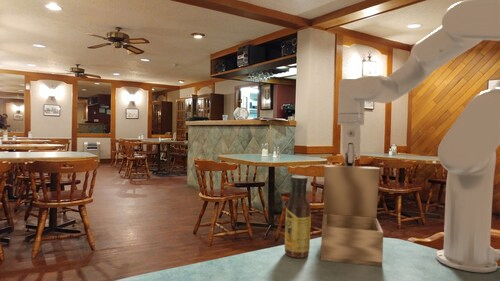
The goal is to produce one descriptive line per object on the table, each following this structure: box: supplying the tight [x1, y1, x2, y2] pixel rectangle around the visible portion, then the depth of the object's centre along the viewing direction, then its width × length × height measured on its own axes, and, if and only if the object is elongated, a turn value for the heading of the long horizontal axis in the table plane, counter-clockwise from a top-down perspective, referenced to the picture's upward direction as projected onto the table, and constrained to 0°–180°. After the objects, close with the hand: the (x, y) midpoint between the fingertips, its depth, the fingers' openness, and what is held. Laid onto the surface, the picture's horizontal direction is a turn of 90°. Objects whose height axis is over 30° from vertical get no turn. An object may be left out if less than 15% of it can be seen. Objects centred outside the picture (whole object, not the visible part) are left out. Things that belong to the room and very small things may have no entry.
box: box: [320, 213, 384, 267], centre depth 91 cm, size 14×14×8 cm
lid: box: [323, 164, 381, 218], centre depth 96 cm, size 14×14×1 cm
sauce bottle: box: [284, 175, 312, 259], centre depth 89 cm, size 6×6×20 cm
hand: (348, 181), depth 106 cm, fingers closed
